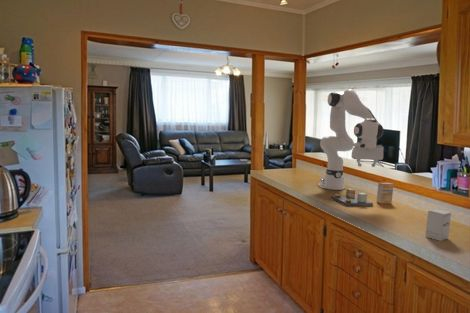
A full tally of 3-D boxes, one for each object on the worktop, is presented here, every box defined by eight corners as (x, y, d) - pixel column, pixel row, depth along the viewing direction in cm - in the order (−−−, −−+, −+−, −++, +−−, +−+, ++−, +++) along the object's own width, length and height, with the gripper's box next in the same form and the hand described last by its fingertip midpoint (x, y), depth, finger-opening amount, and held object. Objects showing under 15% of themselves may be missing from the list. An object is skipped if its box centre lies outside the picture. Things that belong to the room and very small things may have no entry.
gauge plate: (331, 198, 255) (331, 192, 254) (356, 198, 259) (356, 192, 258) (345, 206, 235) (346, 199, 235) (372, 206, 239) (373, 199, 239)
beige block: (346, 196, 256) (346, 188, 255) (351, 196, 257) (352, 188, 256) (349, 197, 252) (349, 189, 251) (354, 197, 253) (355, 189, 252)
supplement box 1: (380, 204, 246) (382, 183, 245) (376, 202, 251) (378, 182, 250) (392, 203, 249) (394, 183, 247) (387, 202, 253) (389, 182, 252)
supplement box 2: (440, 241, 175) (443, 214, 174) (424, 236, 181) (427, 210, 180) (448, 239, 179) (451, 212, 178) (432, 234, 185) (435, 208, 184)
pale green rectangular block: (357, 200, 242) (357, 192, 242) (362, 200, 243) (363, 192, 242) (360, 202, 238) (361, 194, 238) (366, 202, 239) (367, 194, 239)
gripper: (380, 144, 248) (378, 166, 250) (351, 143, 244) (349, 165, 246) (386, 145, 242) (384, 167, 244) (356, 144, 238) (354, 167, 240)
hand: (366, 166), depth 245 cm, fingers open, 8 cm apart
